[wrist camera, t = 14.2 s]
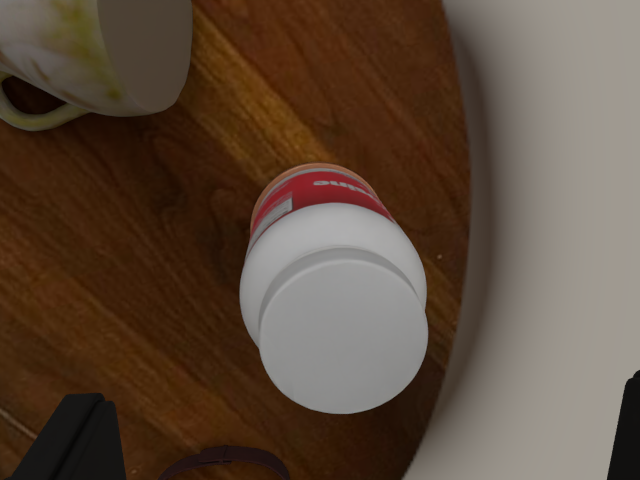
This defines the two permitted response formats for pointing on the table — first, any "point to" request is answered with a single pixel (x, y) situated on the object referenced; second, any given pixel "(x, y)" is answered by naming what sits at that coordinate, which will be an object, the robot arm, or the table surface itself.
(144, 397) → the table surface
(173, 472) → the watch
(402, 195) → the table surface
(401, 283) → the pill bottle
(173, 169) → the table surface
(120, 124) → the table surface
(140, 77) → the mug
